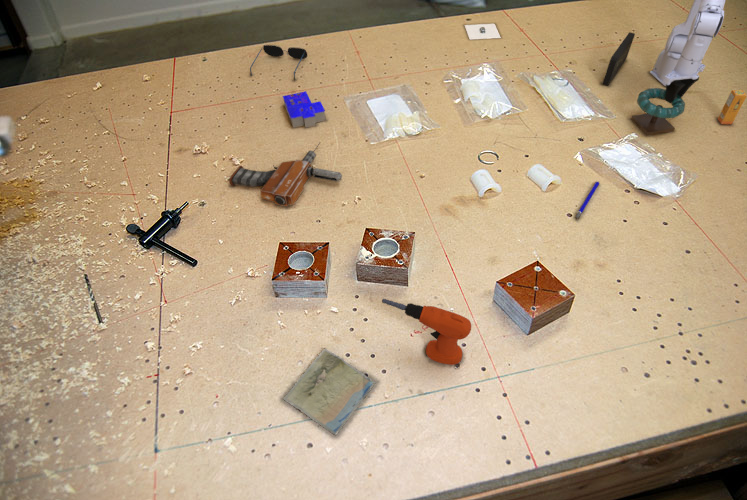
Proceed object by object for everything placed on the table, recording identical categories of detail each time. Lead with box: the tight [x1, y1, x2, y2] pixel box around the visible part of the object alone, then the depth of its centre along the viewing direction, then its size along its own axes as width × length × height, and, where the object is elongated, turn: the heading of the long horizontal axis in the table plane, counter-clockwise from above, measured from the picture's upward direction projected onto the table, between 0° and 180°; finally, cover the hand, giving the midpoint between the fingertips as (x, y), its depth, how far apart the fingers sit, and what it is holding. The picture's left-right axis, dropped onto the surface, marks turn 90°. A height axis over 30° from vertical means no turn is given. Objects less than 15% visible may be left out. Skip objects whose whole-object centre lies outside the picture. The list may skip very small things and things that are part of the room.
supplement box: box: [717, 89, 747, 125], centre depth 157 cm, size 3×3×10 cm
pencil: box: [574, 180, 600, 220], centre depth 139 cm, size 17×1×1 cm, turn 146°
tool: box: [228, 141, 343, 207], centre depth 149 cm, size 4×27×30 cm
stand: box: [630, 104, 676, 137], centre depth 158 cm, size 9×9×7 cm
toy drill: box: [381, 298, 472, 366], centre depth 105 cm, size 5×19×15 cm, turn 71°
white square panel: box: [464, 23, 502, 41], centre depth 204 cm, size 12×12×2 cm
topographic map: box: [282, 347, 377, 436], centre depth 105 cm, size 14×14×2 cm
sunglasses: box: [249, 44, 308, 81], centre depth 189 cm, size 17×15×5 cm
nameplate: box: [602, 31, 636, 86], centre depth 178 cm, size 21×2×10 cm, turn 146°
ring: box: [636, 87, 686, 120], centre depth 155 cm, size 13×13×3 cm
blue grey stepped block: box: [282, 90, 326, 129], centre depth 168 cm, size 11×15×5 cm
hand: (672, 98), depth 157 cm, fingers closed on ring, 3 cm apart
